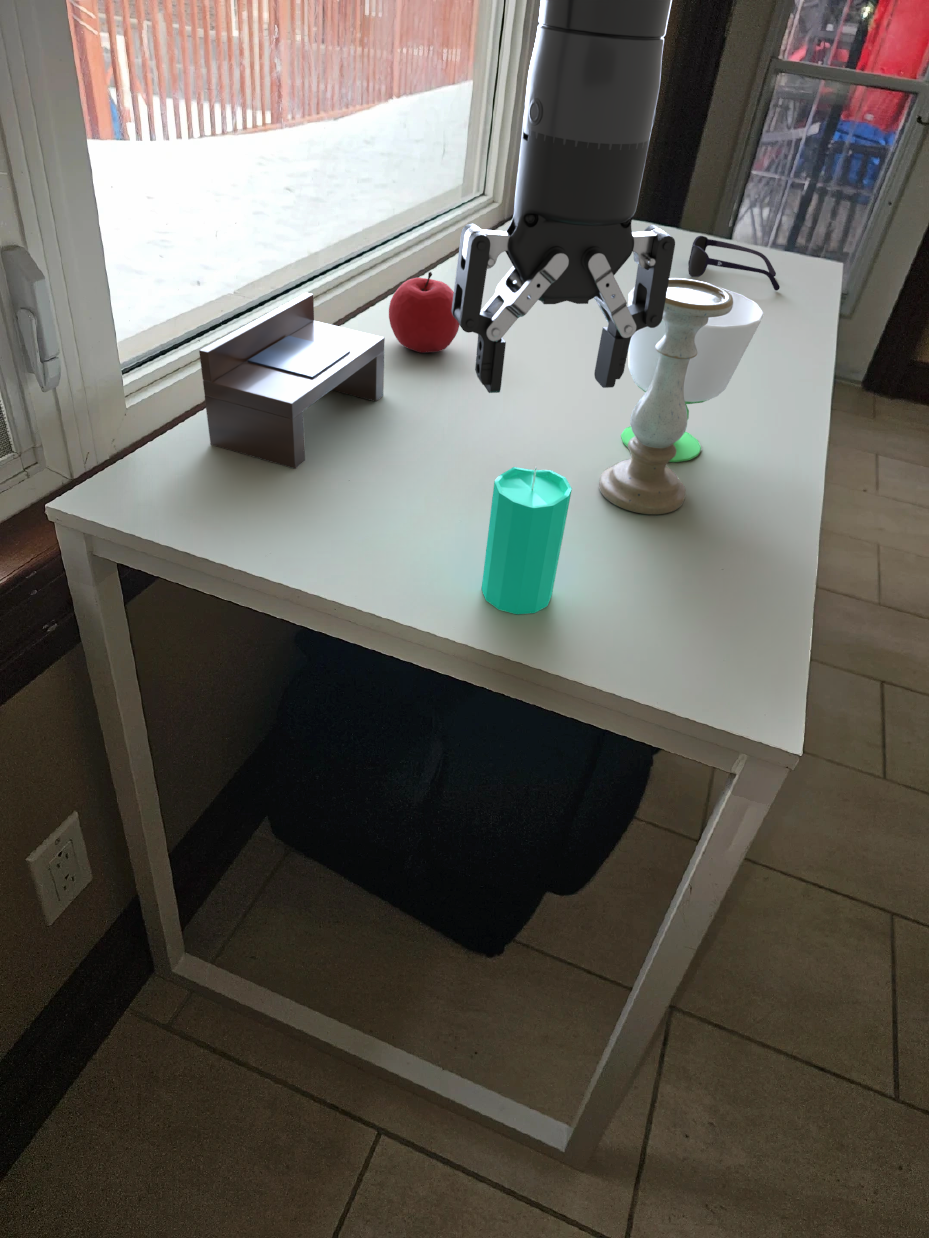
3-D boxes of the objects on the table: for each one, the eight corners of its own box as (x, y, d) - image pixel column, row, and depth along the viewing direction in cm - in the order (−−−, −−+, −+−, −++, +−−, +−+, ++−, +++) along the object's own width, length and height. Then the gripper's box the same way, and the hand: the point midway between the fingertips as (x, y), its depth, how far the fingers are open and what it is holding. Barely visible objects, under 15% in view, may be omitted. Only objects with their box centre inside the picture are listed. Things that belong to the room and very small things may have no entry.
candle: (564, 588, 72) (588, 465, 64) (530, 624, 68) (552, 496, 60) (504, 563, 74) (521, 440, 67) (468, 595, 70) (481, 469, 62)
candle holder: (666, 471, 90) (718, 276, 77) (696, 515, 83) (758, 310, 70) (588, 471, 88) (627, 273, 76) (612, 516, 82) (660, 308, 69)
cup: (579, 444, 93) (605, 300, 83) (631, 405, 102) (661, 271, 92) (694, 487, 88) (737, 338, 78) (738, 441, 97) (782, 303, 87)
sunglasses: (686, 260, 153) (693, 231, 150) (773, 272, 151) (782, 243, 148) (686, 282, 143) (694, 251, 139) (780, 296, 141) (790, 265, 138)
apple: (461, 339, 114) (467, 263, 108) (453, 365, 107) (460, 285, 101) (394, 331, 114) (396, 255, 108) (382, 356, 107) (384, 276, 101)
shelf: (295, 469, 84) (290, 373, 78) (210, 444, 86) (198, 350, 80) (383, 395, 99) (385, 310, 92) (308, 376, 101) (305, 292, 95)
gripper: (668, 117, 54) (618, 361, 64) (453, 107, 50) (437, 367, 60) (725, 142, 48) (661, 405, 58) (489, 133, 45) (464, 414, 55)
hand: (547, 386), depth 59 cm, fingers open, 8 cm apart
